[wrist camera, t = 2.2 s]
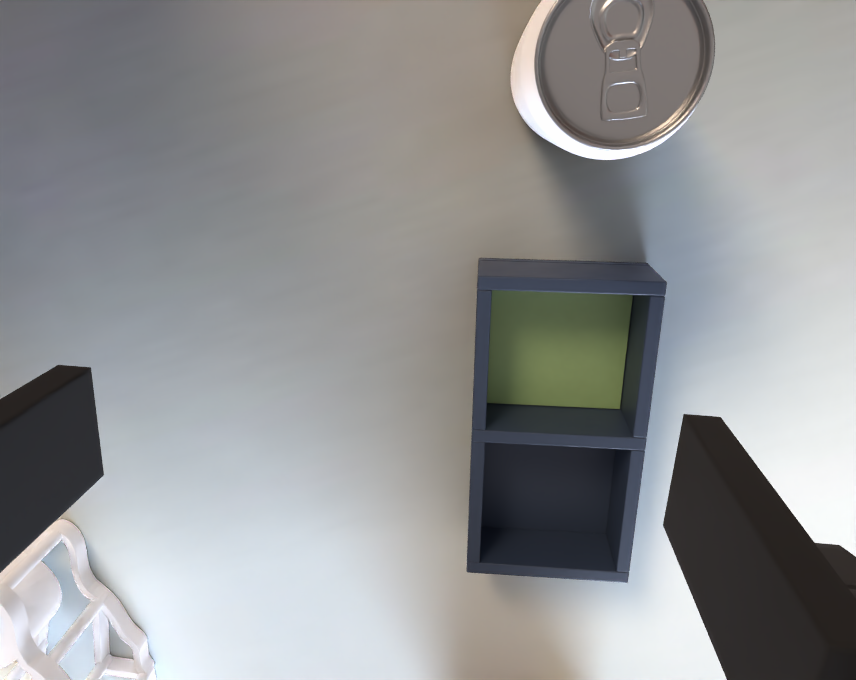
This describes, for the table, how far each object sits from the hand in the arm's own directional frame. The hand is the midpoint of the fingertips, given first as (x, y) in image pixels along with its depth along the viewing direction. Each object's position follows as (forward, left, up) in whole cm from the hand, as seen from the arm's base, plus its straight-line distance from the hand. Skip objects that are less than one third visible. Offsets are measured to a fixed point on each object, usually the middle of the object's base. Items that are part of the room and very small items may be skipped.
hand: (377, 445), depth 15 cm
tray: (+9, +6, -22) cm, 25 cm away
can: (-9, +6, -23) cm, 25 cm away
